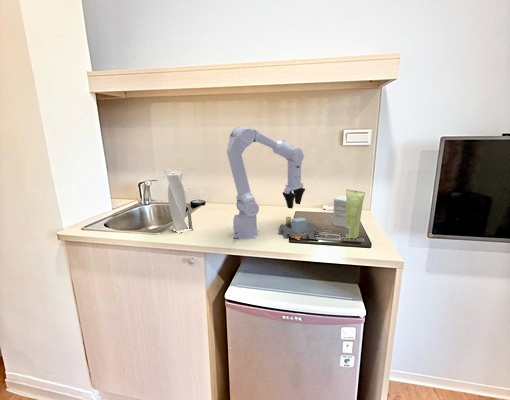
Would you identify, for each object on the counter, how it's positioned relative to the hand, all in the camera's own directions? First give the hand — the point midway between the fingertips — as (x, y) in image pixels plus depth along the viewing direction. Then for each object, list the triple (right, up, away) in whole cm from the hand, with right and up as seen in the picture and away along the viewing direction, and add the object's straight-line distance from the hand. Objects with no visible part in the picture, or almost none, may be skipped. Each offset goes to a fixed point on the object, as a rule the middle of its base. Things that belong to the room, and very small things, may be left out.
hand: (294, 205), depth 124 cm
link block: (0, -10, -11) cm, 15 cm away
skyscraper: (-51, -11, +2) cm, 52 cm away
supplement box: (+23, -9, +2) cm, 24 cm away
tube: (+21, -13, -13) cm, 28 cm away
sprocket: (+1, -11, -7) cm, 13 cm away
